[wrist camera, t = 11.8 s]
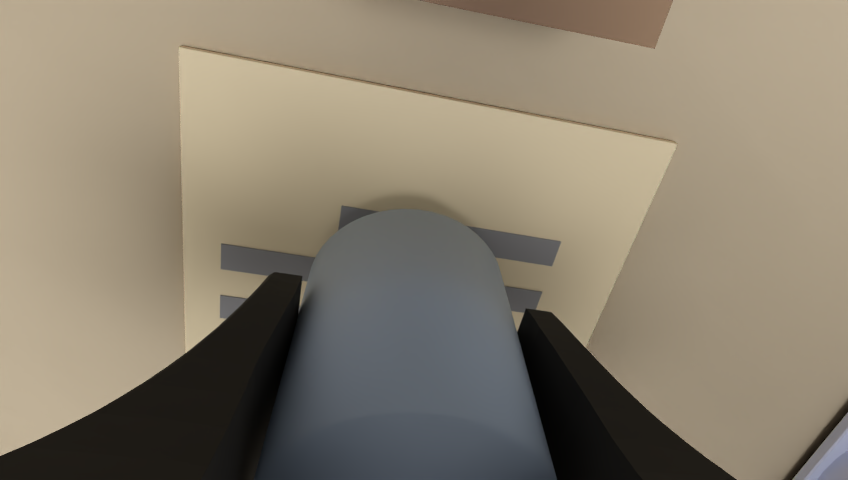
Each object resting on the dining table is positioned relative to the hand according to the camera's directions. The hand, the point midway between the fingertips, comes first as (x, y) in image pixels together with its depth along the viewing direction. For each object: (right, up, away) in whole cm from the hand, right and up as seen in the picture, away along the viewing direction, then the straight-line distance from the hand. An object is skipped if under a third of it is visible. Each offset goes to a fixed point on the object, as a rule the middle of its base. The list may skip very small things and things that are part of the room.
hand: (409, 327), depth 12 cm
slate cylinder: (0, +1, +2) cm, 2 cm away
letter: (0, +2, +3) cm, 3 cm away
